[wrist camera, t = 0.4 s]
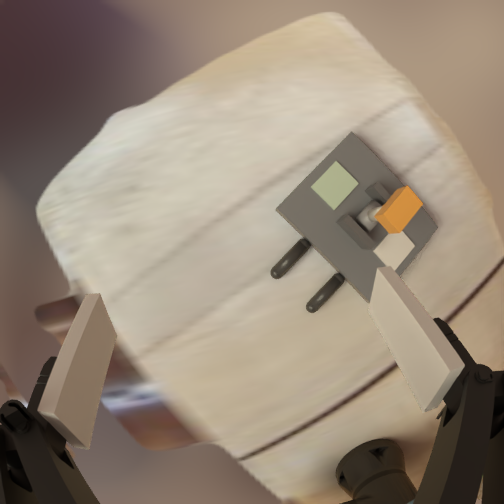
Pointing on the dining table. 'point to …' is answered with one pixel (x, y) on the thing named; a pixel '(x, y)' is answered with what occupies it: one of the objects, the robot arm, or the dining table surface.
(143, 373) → the dining table surface
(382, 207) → the breaker lever
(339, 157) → the breaker box
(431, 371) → the robot arm
